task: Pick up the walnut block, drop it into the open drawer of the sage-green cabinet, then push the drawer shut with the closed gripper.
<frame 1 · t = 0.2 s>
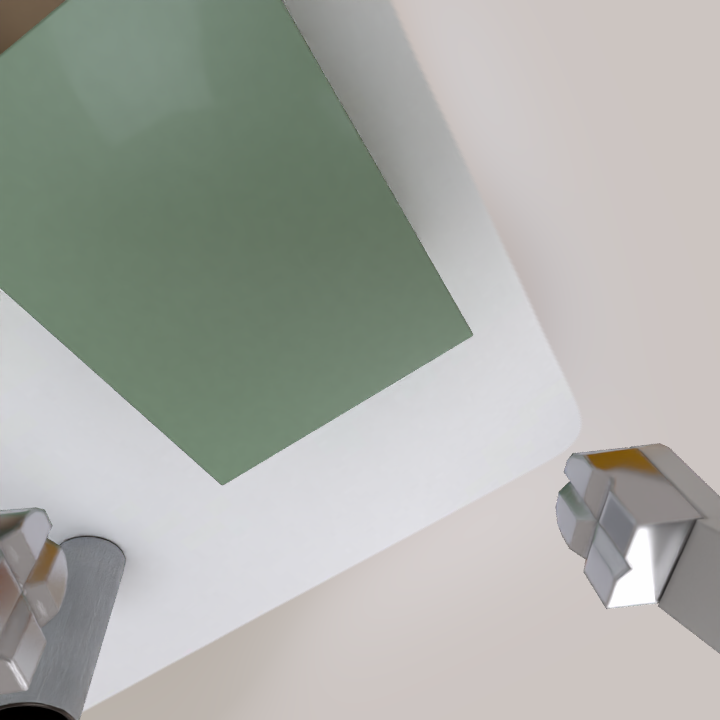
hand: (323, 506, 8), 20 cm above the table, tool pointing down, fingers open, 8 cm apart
grey hollow cylinder piece: (90, 556, 35), on the table
cabinet: (236, 197, 25), on the table
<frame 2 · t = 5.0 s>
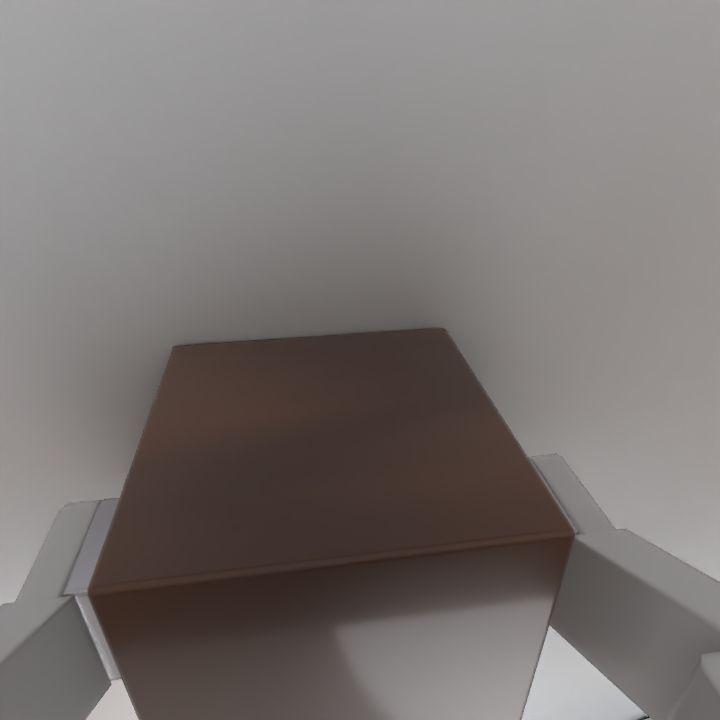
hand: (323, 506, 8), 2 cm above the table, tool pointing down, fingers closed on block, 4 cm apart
block: (318, 442, 10), on the table, touching gripper
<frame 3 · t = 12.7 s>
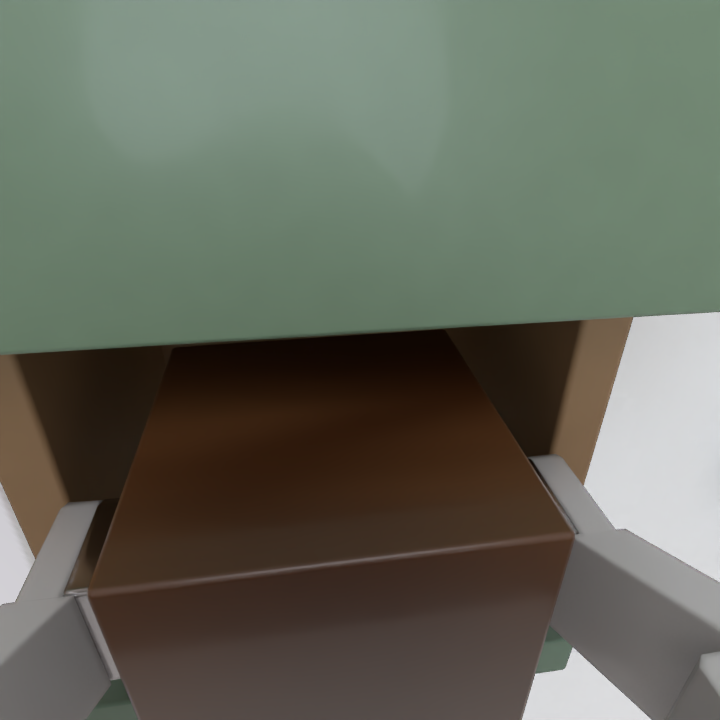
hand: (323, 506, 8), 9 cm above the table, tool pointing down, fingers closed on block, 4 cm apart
drawer: (312, 416, 12), point 5 cm above the table, slide at 7.9 cm, touching gripper
block: (318, 443, 10), point 7 cm above the table, touching gripper
when the fingers open (12 cm above the table, at t = 29.9 s): block drops 8 cm, resting on drawer.
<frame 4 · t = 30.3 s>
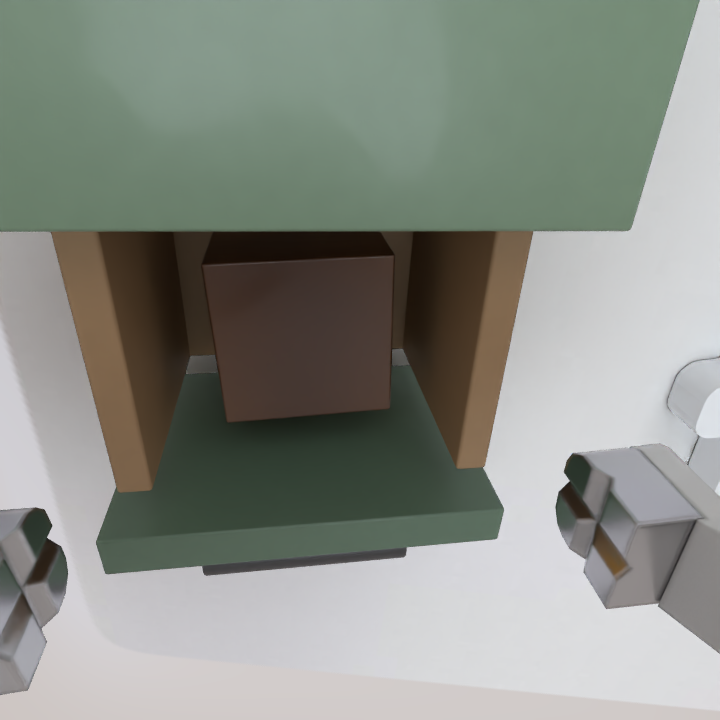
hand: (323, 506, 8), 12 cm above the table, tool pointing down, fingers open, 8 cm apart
drawer: (302, 334, 15), point 5 cm above the table, slide at 7.8 cm, touching block
block: (298, 280, 17), point 2 cm above the table, touching drawer
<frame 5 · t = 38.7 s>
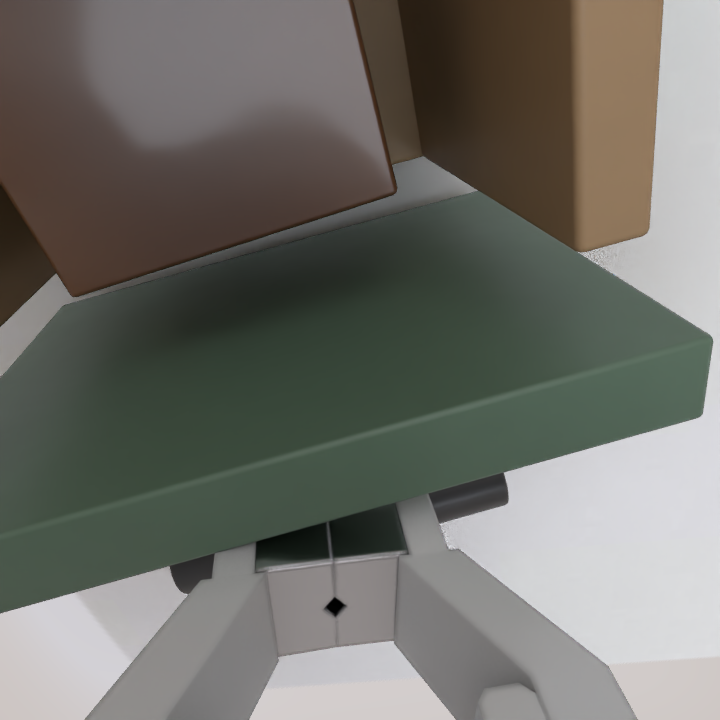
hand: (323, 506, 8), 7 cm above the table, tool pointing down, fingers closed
drawer: (193, 102, 7), point 5 cm above the table, slide at 7.5 cm, touching block, gripper
block: (202, 57, 9), point 2 cm above the table, touching drawer
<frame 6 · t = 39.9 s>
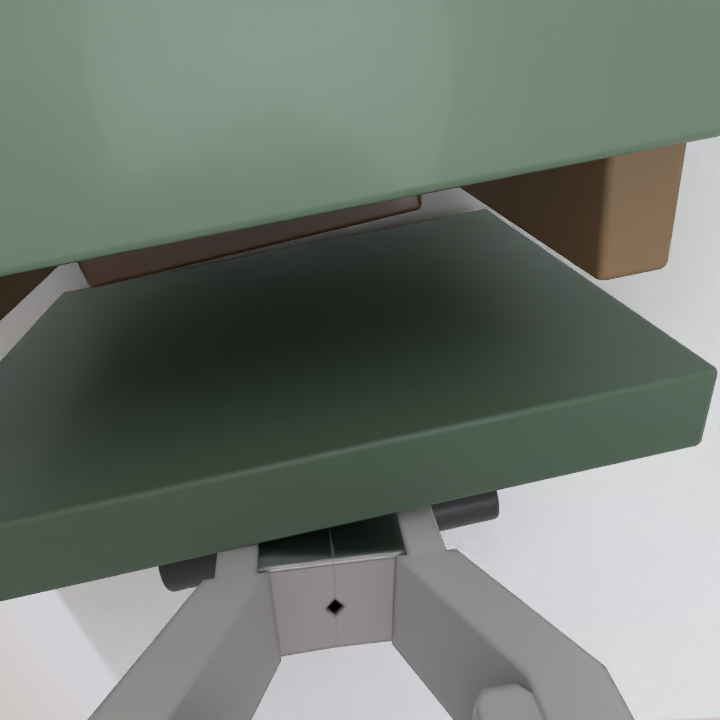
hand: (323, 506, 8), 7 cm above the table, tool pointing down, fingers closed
drawer: (223, 102, 7), point 5 cm above the table, slide at 2.9 cm, touching block, gripper
block: (228, 58, 10), point 2 cm above the table, touching drawer
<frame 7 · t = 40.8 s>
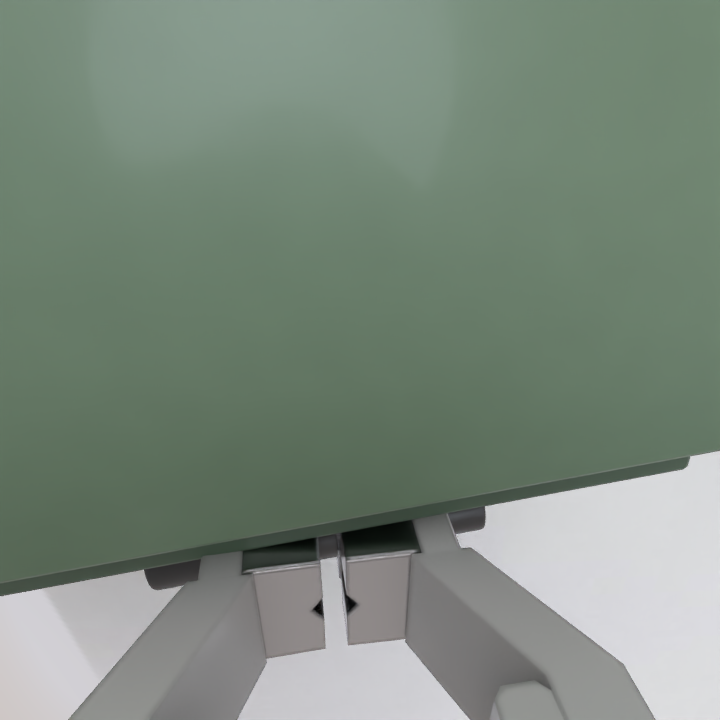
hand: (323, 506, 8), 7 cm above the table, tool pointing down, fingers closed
drawer: (230, 106, 7), point 5 cm above the table, slide at 0.0 cm, touching block, cabinet, gripper
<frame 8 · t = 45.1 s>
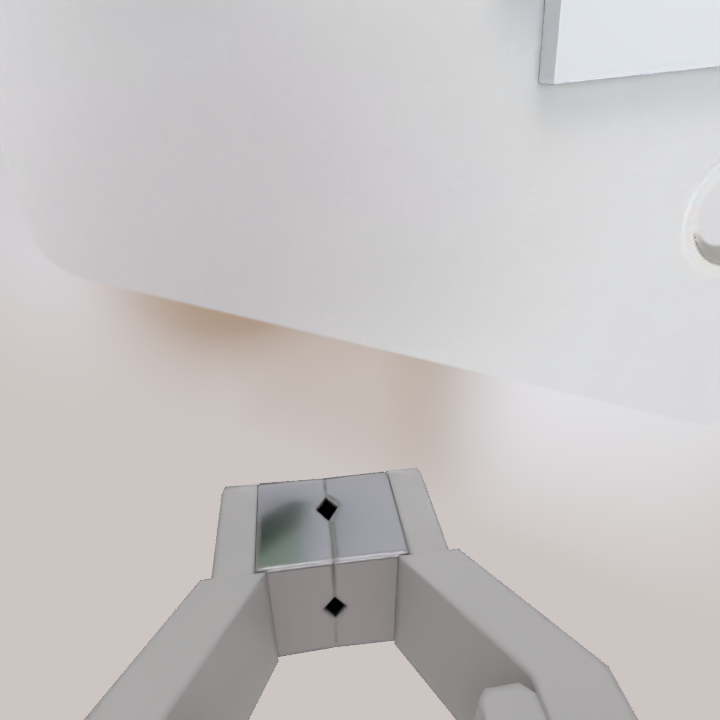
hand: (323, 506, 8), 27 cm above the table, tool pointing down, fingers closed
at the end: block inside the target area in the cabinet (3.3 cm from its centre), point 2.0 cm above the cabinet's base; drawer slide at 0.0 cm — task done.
